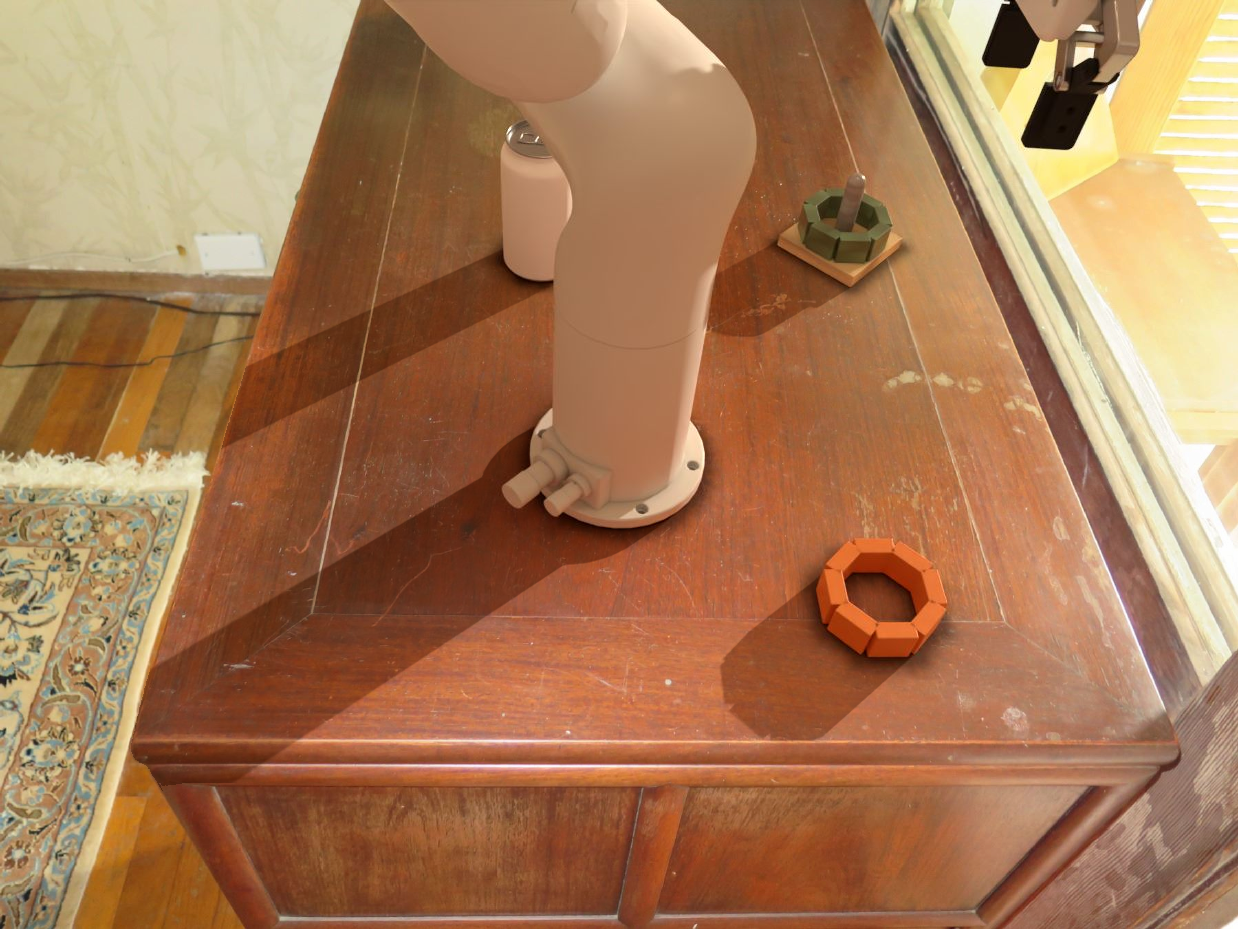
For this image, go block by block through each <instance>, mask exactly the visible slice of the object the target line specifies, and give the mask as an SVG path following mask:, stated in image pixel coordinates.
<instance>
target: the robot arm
mask: <svg viewBox="0 0 1238 929" xmlns="http://www.w3.org/2000/svg"><path fill="white" fill-rule="evenodd" d="M383 1H384V3H385V4H387V5H388V6H389V7H390V8H391V9H392V10H393V11H394V12H395V13H397V15H399V16H400V18H402V19H403V20H404V21H405V22H406V23H407V24H408V25H409V26H410V27H411V28H412V29H413V30H414V32H415V33H416V34H417V35H418V37H419V38H420V39H421V40H422V41H423V43H424V44H425V45H426V46H427V47H428V48H429V49H430V50H431V51H432V52H433V53H434V54H435V55H436V56H437V57H438V58H439V59H440V60H441V61H443V62H444V64H445V65H446V66H447V67H449V69H450V70H453V72H455V73H457V74H458V75H459V76H461V77H463V78H464V79H465V80H467V81H468V82H469V83H471V84H472V85H474V86H476V87H479V88H481V89H483V90H484V91H487V92H489V93H491V94H492V95H494V96H497V97H501V98H505V99H507V100H509V101H510V102H511V103H512V104H513V105H514V107H515V108H516V109H517V110H518V112H520V114H521V115H522V117H523V119H526V121H527V122H528V123H529V125H530V126H531V127H532V128H533V130H534V131H535V132H536V134H537V135H538V136H539V138H540V139H541V140H542V142H543V143H544V144H545V146H546V148H547V150H548V151H549V152H550V154H551V155H552V156H553V158H554V159H555V160H556V162H557V163H558V164H559V166H560V167H561V169H562V170H563V172H564V174H565V176H566V178H567V181H568V183H569V185H570V189H571V195H572V212H571V215H570V218H569V220H568V222H567V224H566V226H565V227H564V229H563V231H562V233H561V235H560V237H559V240H558V243H557V248H556V253H555V261H554V280H553V286H552V287H553V293H552V294H553V343H552V344H553V345H552V346H553V347H552V348H553V349H552V352H553V353H552V406H551V407H550V408H549V409H548V411H546V413H545V414H544V415H543V416H542V417H541V418H540V419H539V421H538V422H537V424H536V426H535V428H534V430H533V431H532V432H533V433H532V436H531V439H530V445H529V463H530V466H529V467H528V468H526V469H524V470H521V471H520V472H519V473H518V474H516V475H515V476H514V477H513V478H510V479H509V480H508V481H507V482H505V483H504V484H503V485H502V486H501V492H502V495H503V497H504V498H505V500H506V502H508V504H510V505H511V506H512V507H513V508H515V509H522V508H523V507H524V506H525V505H527V504H528V503H529V502H531V501H532V500H533V499H534V498H536V497H537V496H538V495H540V493H542V495H543V496H544V497H545V499H544V500H543V506H544V508H545V510H546V511H547V512H548V513H549V514H550V515H551V516H553V517H556V518H557V517H559V516H560V515H561V514H563V513H564V514H566V515H567V516H570V517H572V518H574V519H576V520H578V521H580V522H584V523H587V524H589V525H594V526H596V527H604V528H611V529H633V528H638V527H645V526H649V525H653V524H655V523H658V522H661V521H663V520H665V519H667V518H669V517H671V516H672V515H674V514H676V513H677V512H679V511H680V510H681V509H683V507H684V506H686V505H688V503H689V502H690V501H691V499H692V498H693V496H694V495H695V494H696V492H697V491H698V488H699V486H700V485H701V484H700V483H701V482H702V478H703V474H704V469H705V459H706V458H705V456H706V455H705V454H706V453H705V448H704V442H703V440H702V436H700V433H699V431H698V428H696V426H695V424H694V423H693V422H692V421H691V416H692V411H693V405H694V401H695V395H696V389H697V383H698V377H699V372H700V367H701V360H702V356H703V351H704V350H703V349H704V343H705V339H706V333H707V329H708V328H707V327H708V321H709V314H710V309H711V302H712V295H713V291H714V286H715V281H716V280H715V279H716V275H717V269H718V265H719V261H720V257H721V253H722V249H723V246H724V242H725V239H726V237H727V233H728V231H729V227H730V224H731V222H732V220H733V217H734V215H735V213H736V210H737V208H738V207H739V204H740V202H741V199H742V197H743V194H744V193H745V190H746V187H747V185H748V183H749V180H750V178H751V176H752V172H753V168H754V166H755V160H756V154H757V147H758V145H757V143H758V140H757V138H758V137H757V129H756V123H755V122H756V121H755V118H754V114H753V111H752V108H751V105H750V103H749V101H748V99H747V97H746V96H745V93H744V92H743V90H742V88H741V86H740V84H739V83H738V82H737V80H736V79H735V78H734V76H733V75H732V73H731V72H730V71H729V70H728V68H727V67H726V65H725V64H724V63H723V62H722V61H721V60H720V59H719V58H718V57H717V56H716V55H715V54H714V52H713V51H712V50H710V48H708V47H707V46H706V45H705V44H704V43H703V42H702V41H701V40H700V39H699V38H698V37H697V36H696V35H695V34H694V33H693V32H691V30H690V29H688V27H687V26H686V25H685V24H684V23H682V21H680V20H679V19H678V18H677V17H675V16H674V15H672V14H671V13H670V12H669V11H668V10H667V9H666V8H665V7H664V6H663V5H662V4H661V3H660V2H658V0H383ZM1146 1H1147V0H1003V2H1002V3H1001V4H1000V6H999V10H998V12H997V15H996V18H995V21H994V23H993V26H992V29H991V31H990V34H989V36H988V40H987V41H986V45H985V48H984V50H983V53H982V56H981V61H982V63H983V65H984V66H985V67H988V68H989V67H990V68H1003V69H1005V68H1006V69H1018V70H1019V69H1021V70H1023V69H1027V68H1028V67H1029V66H1030V65H1031V62H1032V60H1033V58H1034V56H1035V53H1036V51H1037V48H1038V46H1039V44H1040V41H1041V42H1046V43H1053V42H1054V41H1055V40H1057V45H1056V54H1055V62H1054V70H1053V77H1052V78H1053V79H1052V81H1044V83H1043V86H1042V88H1041V90H1040V93H1039V95H1038V97H1037V100H1036V102H1035V104H1034V106H1033V109H1032V111H1031V114H1030V115H1029V118H1028V120H1027V123H1026V125H1025V128H1024V130H1023V132H1022V134H1021V137H1020V142H1021V144H1022V145H1023V148H1026V149H1038V150H1052V151H1053V150H1054V151H1070V150H1071V149H1073V148H1074V147H1075V145H1076V144H1077V141H1078V139H1079V137H1080V134H1082V133H1081V132H1082V130H1083V129H1084V126H1085V124H1086V122H1087V120H1088V118H1089V116H1090V114H1091V112H1092V110H1093V107H1094V105H1095V103H1096V101H1097V99H1098V97H1099V95H1103V94H1105V93H1106V92H1107V90H1108V88H1109V86H1111V85H1112V84H1115V82H1116V81H1118V80H1119V77H1120V76H1121V72H1122V71H1123V70H1124V69H1125V68H1126V67H1127V66H1128V64H1129V63H1130V62H1131V61H1132V60H1133V59H1134V58H1135V57H1136V56H1137V54H1138V53H1139V51H1140V47H1141V39H1140V38H1141V36H1140V28H1139V20H1138V19H1139V16H1140V13H1141V11H1142V9H1143V7H1144V5H1145V3H1146ZM1006 2H1007V3H1006ZM1082 25H1084V26H1085V25H1087V26H1091V27H1092V28H1093V30H1094V31H1090V30H1078V29H1079V28H1080V27H1081V26H1082ZM1076 48H1085V49H1086V48H1088V49H1093V56H1092V57H1088V58H1086V59H1084V60H1082V61H1081V62H1079V63H1077V64H1076V65H1074V63H1075V55H1076Z"/></svg>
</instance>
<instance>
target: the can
mask: <svg viewBox="0 0 1238 929" xmlns="http://www.w3.org/2000/svg"><path fill="white" fill-rule="evenodd" d="M504 140H505V141H504V142H503V144H502V146H501V149H500V156H499V157H500V160H499V161H500V163H499V164H500V192H501V193H500V194H501V195H500V196H501V226H502V250H503V260H504V263H505V266H507V268H508V269H510V271H512V272H513V273H514V274H515V275H517V276H518V277H520V278H522V279H525V280H527V281H531V282H539V283H541V282H543V283H544V282H552V281H554V261H555V253H556V248H557V243H558V240H559V237H560V235H561V233H562V231H563V229H564V227H565V226H566V224H567V222H568V220H569V218H570V215H571V212H572V195H571V189H570V185H569V183H568V181H567V178H566V176H565V174H564V172H563V170H562V169H561V167H560V166H559V164H558V163H557V162H556V160H555V159H554V158H553V156H552V155H551V154H550V152H549V151H548V150H547V148H546V146H545V144H544V143H543V142H542V140H541V139H540V138H539V136H538V135H537V134H536V132H535V131H534V130H533V128H532V127H531V126H530V125H529V123H528V122H527V121H526V119H525V118H523V119H520V120H518V121H516V122H514V123H513V124H511V125H510V126H509V127H508V128H507V130H506V131H505V134H504Z"/></svg>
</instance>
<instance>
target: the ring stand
mask: <svg viewBox="0 0 1238 929" xmlns="http://www.w3.org/2000/svg"><path fill="white" fill-rule="evenodd" d="M866 186H867V178H866V177H865V175H864V174H862V173H861V172H854V173H852V174H851V175H850V176H848V179H847V181H846V184H845V187H844V188H837V187H836V188H835V187H834V188H833V187H831V188H830V187H825V188H824V190H823V189H820V190H818V191H816V192H815V193H813V194H812V195H810V196H809V197H808V198H807V199H805V200H804V201H803V204H802V206H801V211H800V215H799V219H798V221H796V222H795V223H794V224H792V225H791V226H790V227H788V228H787V229H786V230H784V231H783V232H782V233H780V234H779V237H778V240H777V244H776V245H777V246H778V247H780V248H781V249H783V250H785V251H786V252H788V253H790V254H791V255H793V256H795V257H797V258H798V259H800V260H802V261H803V262H805V263H807V264H808V265H810V266H812V267H814V268H816V269H818V271H821V272H823V273H824V274H826V275H828V276H830V277H831V278H833V279H835V280H837V281H838V282H840V283H842V284H843V285H845V286H847V287H849V288H851V287H853V286H854V285H855V284H857V282H859V281H860V280H861V279H862V278H864V277H865V276H866V275H867V274H869V273H871V271H872V270H874V269H875V268H876V267H877V266H879V265H880V264H881V263H883V261H885V260H886V259H887V258H889V257H890V256H891V255H893V254H894V253H895V252H896V251H897V250H899V248H900V247H901V246H900V245H901V243H902V240H903V237H901V236H900V235H898V234H896V233H894V232H892V228H893V225H894V224H893V221H892V218H891V215H890V212H889V209H888V208H887V206H886V205H885V206H884V202H882V201H880V200H879V199H877V198H874V197H873V196H871V195H869V194H867V193H865V189H866Z"/></svg>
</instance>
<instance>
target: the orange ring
mask: <svg viewBox="0 0 1238 929" xmlns="http://www.w3.org/2000/svg"><path fill="white" fill-rule="evenodd" d="M933 566H934V563H933V562H931V561H930V560H928V559H927V558H926V557H924V556H922V555H921V554H919V553H918V552H916V551H915V550H914V549H912V548H911V547H910V546H908V545H906V544H905V543H904V542H902V541H901V540H898V541H897V542H896V543H894V540H893V538H887V537H886V538H885V537H884V538H879V537H878V538H872V537H871V538H869V537H868V538H867V537H866V538H865V537H864V538H860V537H859V538H853V539H852V542H851V541H849V540H847V541H845V543H844V544H843V545H842V546H841V547H840V548H839V549H838V550H837V551H836V552H835V553H834V554H833V555H832V556H831V557H830V558H829V559H828V560H827V562H826V563H825V564H824V566H823V569H822V572H821V573H820V577H819V579H818V582H817V585H816V588H815V592H816V597H817V602H818V606H819V612H820V618H821V622H822V624H823V625H824V624H827V627H826V630H827V631H828V632H829V633H830V634H832V635H834V636H835V637H836V638H838V639H839V640H840V641H842V642H843V643H844V644H845V645H847V646H848V647H850V648H851V649H852V650H854V652H856V653H858V654H859V655H862V654H863V653H864V652H865V651H866V655H867V657H868V658H908V657H909V656H910V654H912V655H915V654H916V653H917V652H918V651H919V650H920V648H921V647H922V646H923V645H924V644H925V643H926V641H927V640H928V638H929V637H930V636H931V635H932V634H933V633H934V632H935V630H936V629H937V627H938V626H939V624H940V623H941V620H942V619H943V617H944V616H945V614H946V612H947V609H946V607H947V606H948V604H949V603H948V600H947V597H946V593H945V590H944V586H943V582H942V580H941V577H940V573H939V570H938V568H937V569H936V568H935V569H934V568H933V569H932V567H933ZM852 573H857V574H858V573H883V574H885V575H886V576H887V577H888V578H890V579H891V580H893V581H895V583H897V584H899V585H900V586H902V587H903V588H904V589H906V590H907V591H908V592H910V595H911V599H912V602H913V606H914V610H915V614H916V615H915V616H914V617H913V618H912V620H911V621H884V622H883V621H881V622H878V621H876V620H875V619H874V618H872V617H870V615H868V614H867V613H865V612H864V611H863V610H861V609H860V608H859V607H857V606H856V605H854V604H853V603H851V602H850V601H849V596H848V592H847V588H846V583H845V581H846V580H847V579H848V577H849V576H850V575H851V574H852Z"/></svg>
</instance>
